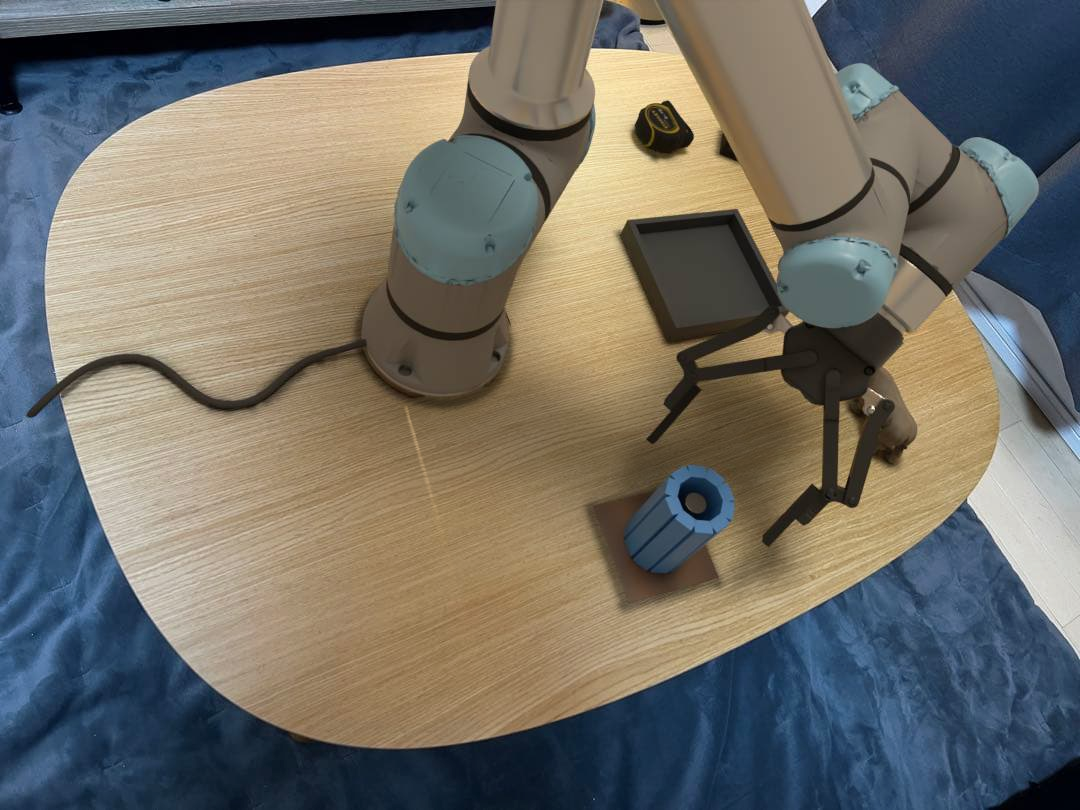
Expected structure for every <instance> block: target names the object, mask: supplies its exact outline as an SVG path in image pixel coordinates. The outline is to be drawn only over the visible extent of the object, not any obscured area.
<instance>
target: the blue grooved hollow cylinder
mask: <svg viewBox="0 0 1080 810" xmlns="http://www.w3.org/2000/svg"><path fill="white" fill-rule="evenodd" d="M653 492H654V493H653V494H652V495H651V497H650V498H649V499H648V500H647V501H646V502H645V503H644V504H643V505H642V507H641V508H640V509H639V510H638V511H637V512H636V513H635V514H634V515H633V516H632V518H631V519H630V521H629V522H628V524H627V527H626V531H625V535H624V537H625V538H626V539H625V541H624V542H625V545H626V547H627V550H628V552H629V555H630V557H632V556H635V557H634V559H633V561H634V562H636V563H637V564H638V565H639V566H641V567H642V568H643V569H645V570H646V571H647V570H648V569H649V568H650V572H651V573H665V574H666V573H668V572H672V571H673V570H675V569H676V568H677V567H679V566H680V565H681V564H683V563H684V562H685V561H686V560H688V559H689V558H690V557H691V556H692V555H694V554H695V553H696V552H697V551H698V550H699V549H701V548H702V547H703V546H704V545H705V546H706V545H707V544H708V543H710V541H712V540H713V539H714V538H715V537H716V536H718V535H719V534H720V533H721V532H722V531H724V530H725V529H726V528H727V527H728V526H730V525H731V522H732V521H733V519H734V513H735V509H736V503H735V502H734V501H735V500H736V498H735V496H734V494H733V492H732V489H731V487H730V484H729V483H728V482H725V478H724V477H723V476H721V475H720V474H718V473H717V472H716V471H715V470H714V469H712V468H711V467H709V468H707V469H706V466H704V465H698V464H697V465H696V464H687V465H682V466H680V467H679V468H677V469H676V470H674V471H673V472H672V473H670V474H669V476H667V478H666V479H665V480H664V481H663V482H662V483H661V484H660V485H659V486H658V487H657V489H656V490H655V491H653ZM690 493H698V494H700V495H702V496H703V497H704V499H705V501H706V509H705V511H704V512H703V513H702V514H701V515H699V516H698V517H697V518H696V519H694V518H693V517H691V516H690V515H689V514H688V513H686V512H685V511H684V510H683V508H682V506H681V504H680V502H681V501H682V500H683V499H684V498H685V497H686V496H687V495H688V494H690Z"/></svg>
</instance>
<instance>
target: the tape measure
mask: <svg viewBox="0 0 1080 810" xmlns="http://www.w3.org/2000/svg"><path fill="white" fill-rule="evenodd" d="M634 132H635V135H636V138H637V139H638V141H639V142H640V143H641V144H642V145H643V146H644V147H645V148H646V149H648V150H649V151H651V152H653V153H657V154H661V155H662V154H664V155H668V154H672V153H674V152H676V151H678V150H681V149H686V148H688V147H690V146H691V145H692V143H693V142H694V141H693V140H694V139H695V134H694V131H693V130H692V129H691V127H690V126H689V124H688V123H687V122H686V121H685V120H684V119H683V117H682V116H681V114H680V113H679V112H678V111H677V109H676V107H675V106H674V105H673V103H672V102H671V101H670V100H668V99H666V100H663V101H661V103H660V102H652V103H650V104H647V105H646V106H645V107H643V108H641V109H640V111H639V112H638V117H637V119H636V121H635V124H634Z"/></svg>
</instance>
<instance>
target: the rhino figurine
mask: <svg viewBox="0 0 1080 810" xmlns="http://www.w3.org/2000/svg"><path fill="white" fill-rule="evenodd" d="M868 388H870V389H871V390H873V391H874V392H876V393H878V394H879V395H881V396H882V397H884V398H888V399H890V400H892V401H893V402H894V404H895V408H894V410H893V412H892V413H891V414H890V416H889V417H888V418H887V420H886V421H885V422H884V424H883V425H882V426H881V429H880V433H879V436H878V440H877V443H876V446H875V450H874V453H873V454H875V453H877V452H878V451H884V450H886V449H887V447H888V448H889V447H893V450H888V451H885V453H884V457H885V459H886V460H887V462H889V463H890V464H895V463H896V462H897V460H898V459H900V458H901V457H902V455H903V452H904V450H908V447H909V446H910V445H911V444H912V443H913V442H914V441H915V440H916V438H917V435H918V425H917V422H916V420H915V418H914V417H913V415H912V413H911V412H910V411H909V410H908V409H909V408H907V405H906V403H905V401H904V399H903V397H902V394H901V392H900V389H899V388H898V385H897V383H896V381H895V379H894V377H893V375H892V374H891V373H890V371H889V370H887V369H886V368H885V367H883V366H882V367H881V368H880V369H879V370H878V371H877V372H876V373H875V374H874V376H873V377H872V378H871V380H870V383H869V386H868ZM863 406H864V399H863V398H862V397H859V401H851V402H850V403H849V408H850V410H851V411H853V413H857V414H860V413H862V412H863Z"/></svg>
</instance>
